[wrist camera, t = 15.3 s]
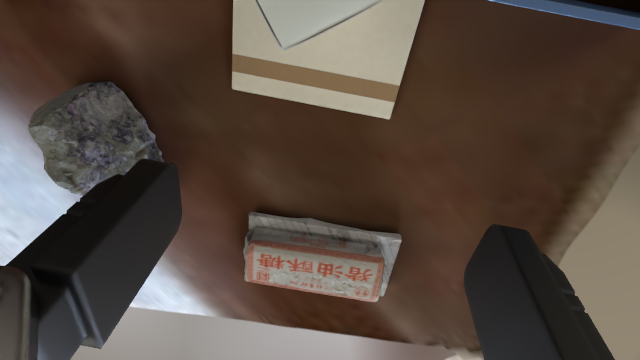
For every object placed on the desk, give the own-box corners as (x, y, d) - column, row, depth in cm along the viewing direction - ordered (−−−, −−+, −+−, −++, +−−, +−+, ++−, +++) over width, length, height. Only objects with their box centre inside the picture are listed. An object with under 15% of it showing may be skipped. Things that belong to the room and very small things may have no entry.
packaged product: (239, 295, 43) (238, 236, 38) (250, 265, 47) (250, 207, 42) (385, 319, 43) (406, 262, 37) (383, 286, 47) (402, 231, 41)
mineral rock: (177, 196, 42) (130, 259, 34) (86, 174, 41) (17, 233, 33) (175, 94, 34) (115, 143, 26) (65, 67, 34) (-31, 108, 26)
